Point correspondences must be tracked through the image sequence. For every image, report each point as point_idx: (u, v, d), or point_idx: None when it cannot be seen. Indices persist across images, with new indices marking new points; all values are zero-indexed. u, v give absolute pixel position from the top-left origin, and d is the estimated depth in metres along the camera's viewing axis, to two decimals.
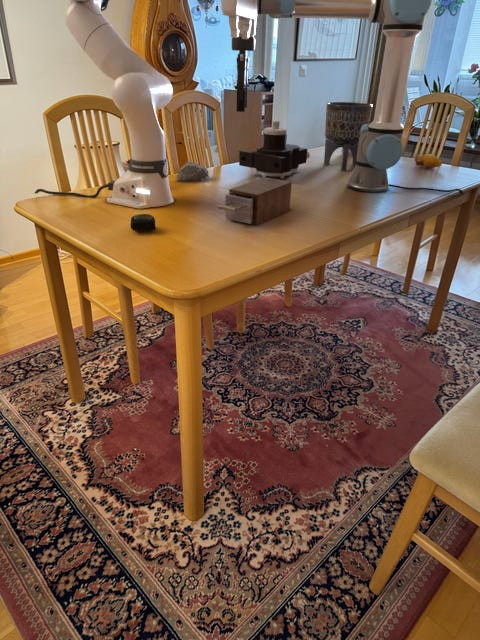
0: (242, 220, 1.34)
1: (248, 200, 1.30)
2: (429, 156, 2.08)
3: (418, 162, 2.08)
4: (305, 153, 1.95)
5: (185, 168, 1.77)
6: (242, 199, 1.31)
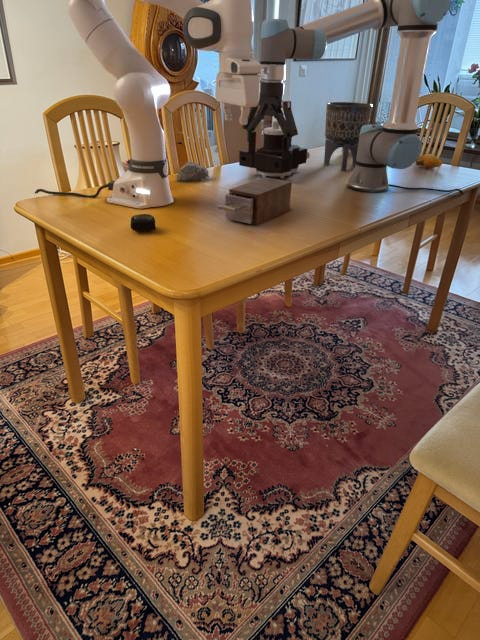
0: (242, 220, 1.34)
1: (248, 200, 1.30)
2: (429, 156, 2.08)
3: (418, 162, 2.08)
4: (305, 153, 1.95)
5: (185, 168, 1.77)
6: (242, 199, 1.31)
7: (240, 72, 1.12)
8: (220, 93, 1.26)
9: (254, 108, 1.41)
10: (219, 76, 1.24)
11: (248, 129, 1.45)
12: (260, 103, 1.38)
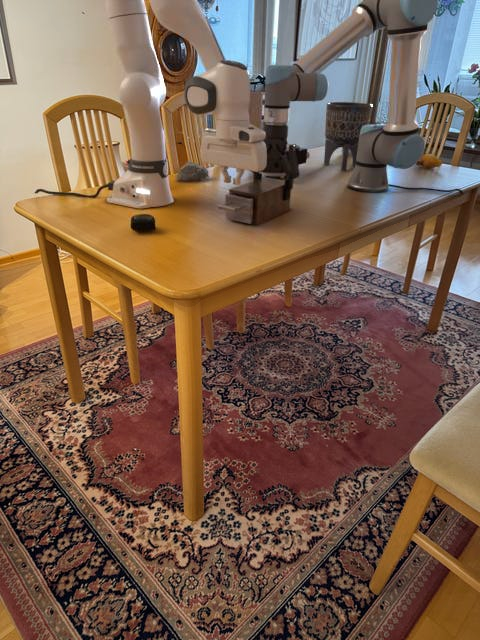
0: (242, 220, 1.34)
1: (248, 200, 1.30)
2: (429, 156, 2.08)
3: (418, 162, 2.08)
4: (305, 153, 1.95)
5: (185, 168, 1.77)
6: (242, 199, 1.31)
7: (253, 141, 1.15)
8: (211, 155, 1.26)
9: None
10: (209, 139, 1.24)
11: None
12: None
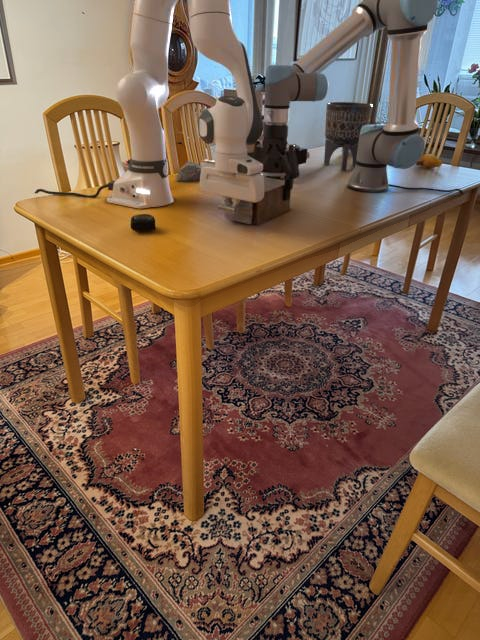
0: (241, 220, 1.34)
1: None
2: (429, 156, 2.08)
3: (418, 162, 2.08)
4: (305, 153, 1.95)
5: (185, 168, 1.77)
6: None
7: (251, 174, 1.19)
8: (210, 185, 1.29)
9: (258, 149, 1.44)
10: (208, 170, 1.27)
11: None
12: (264, 144, 1.41)
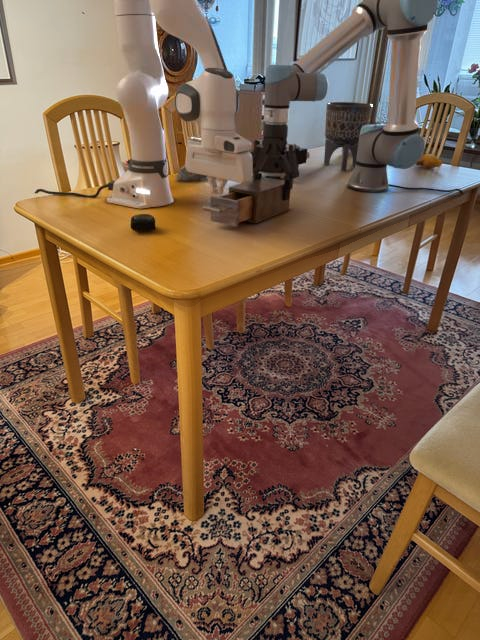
0: (227, 223, 1.29)
1: (234, 202, 1.25)
2: (429, 156, 2.08)
3: (418, 162, 2.08)
4: (305, 153, 1.95)
5: (185, 168, 1.77)
6: (228, 201, 1.26)
7: (238, 151, 1.12)
8: (196, 165, 1.22)
9: (258, 149, 1.43)
10: (194, 148, 1.20)
11: (254, 171, 1.46)
12: (264, 143, 1.41)
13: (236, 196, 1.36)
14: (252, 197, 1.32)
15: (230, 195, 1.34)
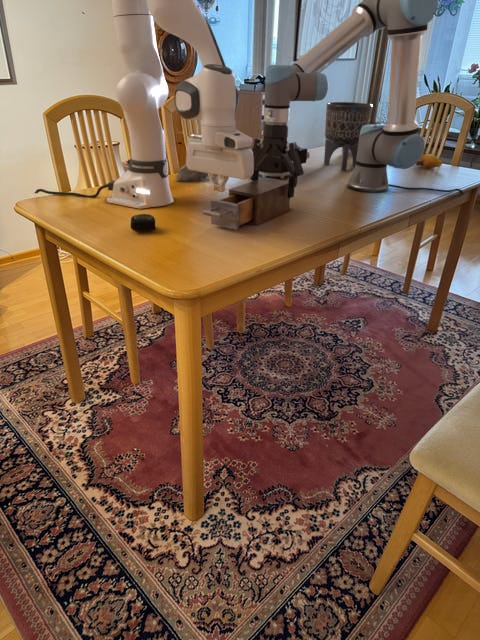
0: (228, 226, 1.29)
1: (234, 205, 1.25)
2: (429, 156, 2.08)
3: (418, 162, 2.08)
4: (305, 153, 1.95)
5: (185, 168, 1.77)
6: (228, 204, 1.26)
7: (239, 147, 1.11)
8: (197, 162, 1.22)
9: (257, 148, 1.43)
10: (195, 145, 1.20)
11: None
12: (264, 143, 1.41)
13: (236, 198, 1.37)
14: (252, 199, 1.32)
15: (230, 198, 1.34)
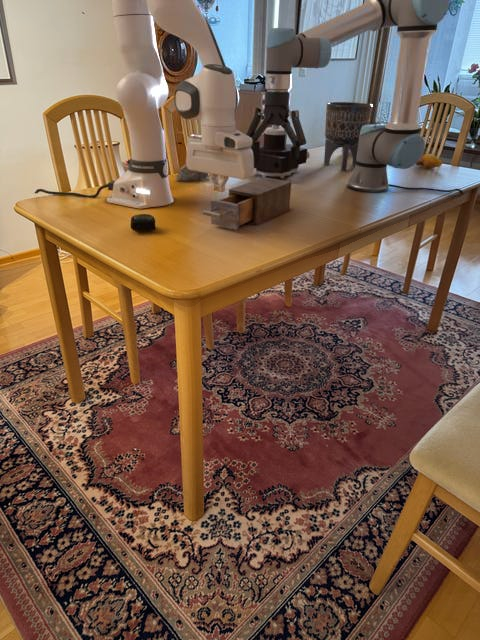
0: (228, 226, 1.29)
1: (234, 205, 1.25)
2: (429, 156, 2.08)
3: (418, 162, 2.08)
4: (305, 153, 1.95)
5: (185, 168, 1.77)
6: (228, 204, 1.26)
7: (239, 147, 1.11)
8: (197, 162, 1.22)
9: (258, 117, 1.39)
10: (194, 145, 1.20)
11: (252, 139, 1.42)
12: (265, 112, 1.36)
13: (236, 198, 1.37)
14: (252, 199, 1.32)
15: (230, 198, 1.34)
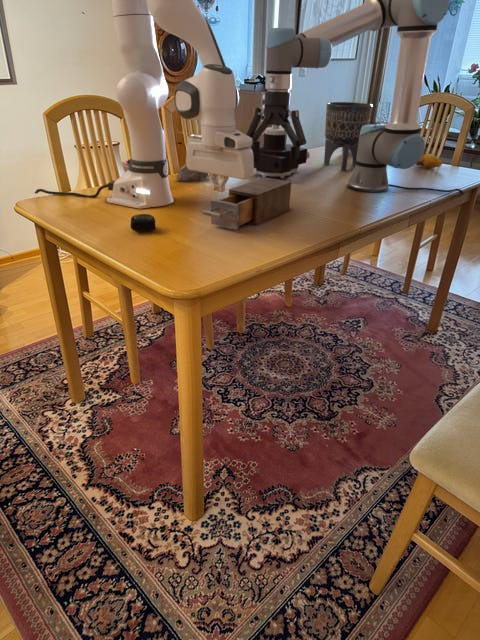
0: (228, 226, 1.29)
1: (234, 205, 1.25)
2: (429, 156, 2.08)
3: (418, 162, 2.08)
4: (305, 153, 1.95)
5: (185, 168, 1.77)
6: (228, 204, 1.26)
7: (239, 147, 1.11)
8: (197, 162, 1.22)
9: (258, 117, 1.39)
10: (194, 145, 1.20)
11: (252, 139, 1.42)
12: (265, 112, 1.36)
13: (236, 198, 1.37)
14: (252, 199, 1.32)
15: (230, 198, 1.34)
